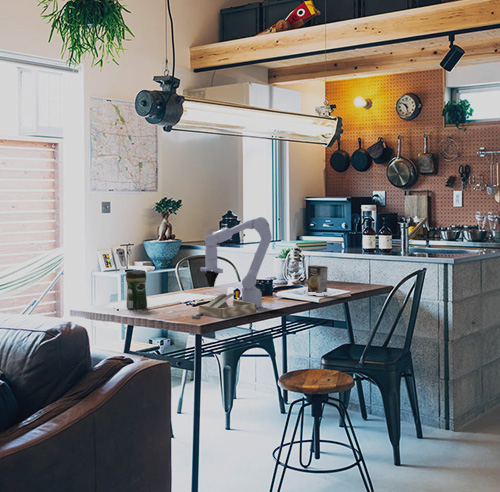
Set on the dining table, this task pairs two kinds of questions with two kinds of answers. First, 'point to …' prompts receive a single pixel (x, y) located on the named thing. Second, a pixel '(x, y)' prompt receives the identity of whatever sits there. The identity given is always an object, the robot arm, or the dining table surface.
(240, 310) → the bay
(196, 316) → the hook
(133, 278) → the coffee jar
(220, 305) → the beige slanted rack
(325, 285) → the coffee box
